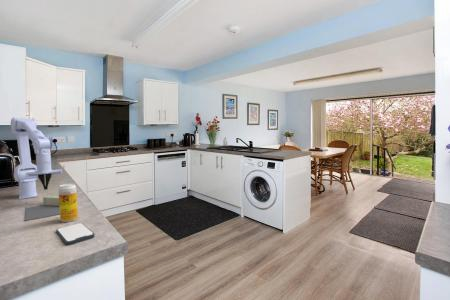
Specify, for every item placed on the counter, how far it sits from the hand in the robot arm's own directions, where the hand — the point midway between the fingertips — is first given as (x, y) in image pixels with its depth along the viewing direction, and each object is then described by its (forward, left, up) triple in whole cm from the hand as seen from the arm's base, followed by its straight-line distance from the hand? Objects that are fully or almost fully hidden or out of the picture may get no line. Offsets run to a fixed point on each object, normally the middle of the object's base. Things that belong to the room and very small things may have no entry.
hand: (45, 189), depth 117 cm
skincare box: (0, +1, -5) cm, 5 cm away
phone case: (+49, +7, -8) cm, 50 cm away
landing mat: (+12, 0, -8) cm, 14 cm away
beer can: (+32, +7, -8) cm, 33 cm away
